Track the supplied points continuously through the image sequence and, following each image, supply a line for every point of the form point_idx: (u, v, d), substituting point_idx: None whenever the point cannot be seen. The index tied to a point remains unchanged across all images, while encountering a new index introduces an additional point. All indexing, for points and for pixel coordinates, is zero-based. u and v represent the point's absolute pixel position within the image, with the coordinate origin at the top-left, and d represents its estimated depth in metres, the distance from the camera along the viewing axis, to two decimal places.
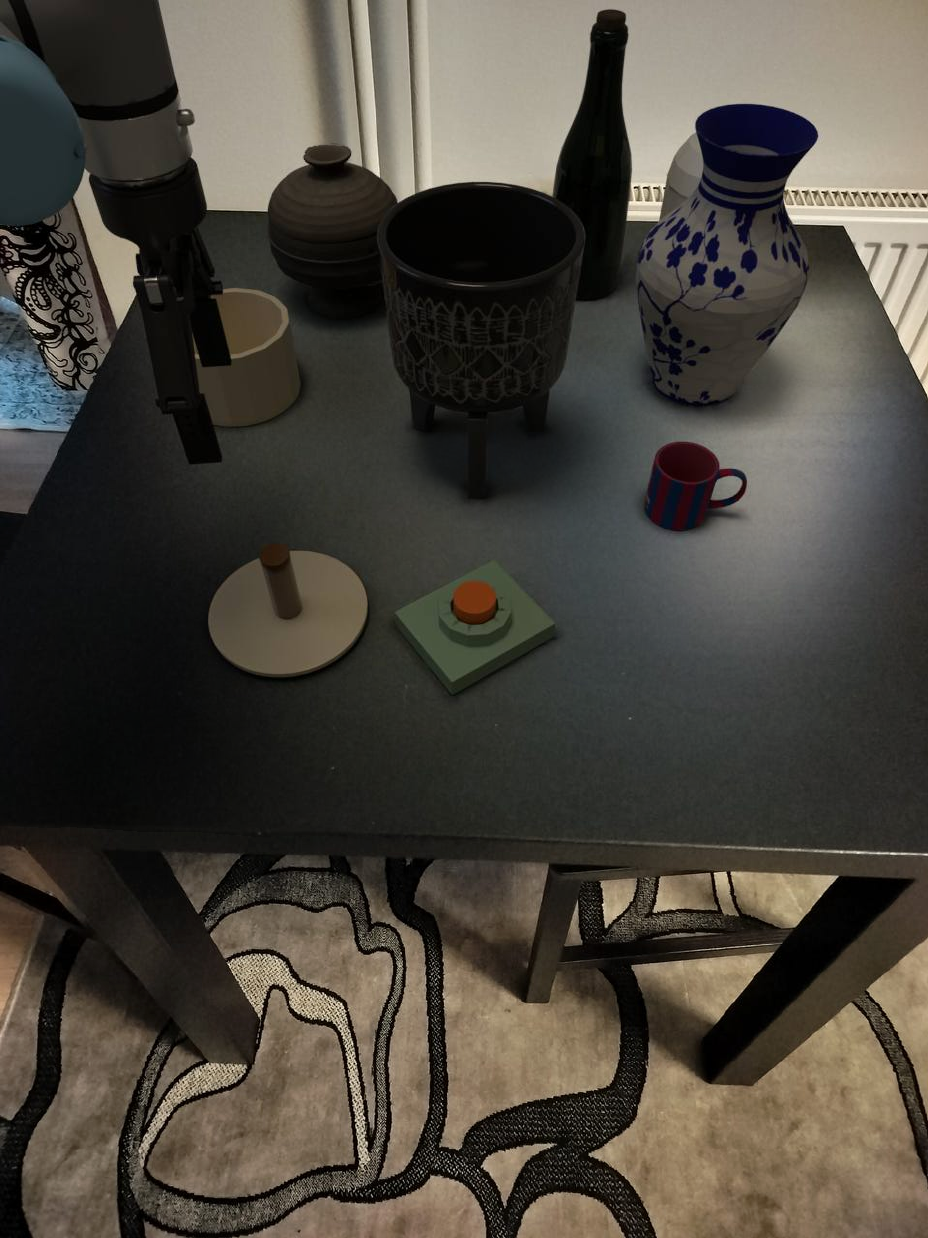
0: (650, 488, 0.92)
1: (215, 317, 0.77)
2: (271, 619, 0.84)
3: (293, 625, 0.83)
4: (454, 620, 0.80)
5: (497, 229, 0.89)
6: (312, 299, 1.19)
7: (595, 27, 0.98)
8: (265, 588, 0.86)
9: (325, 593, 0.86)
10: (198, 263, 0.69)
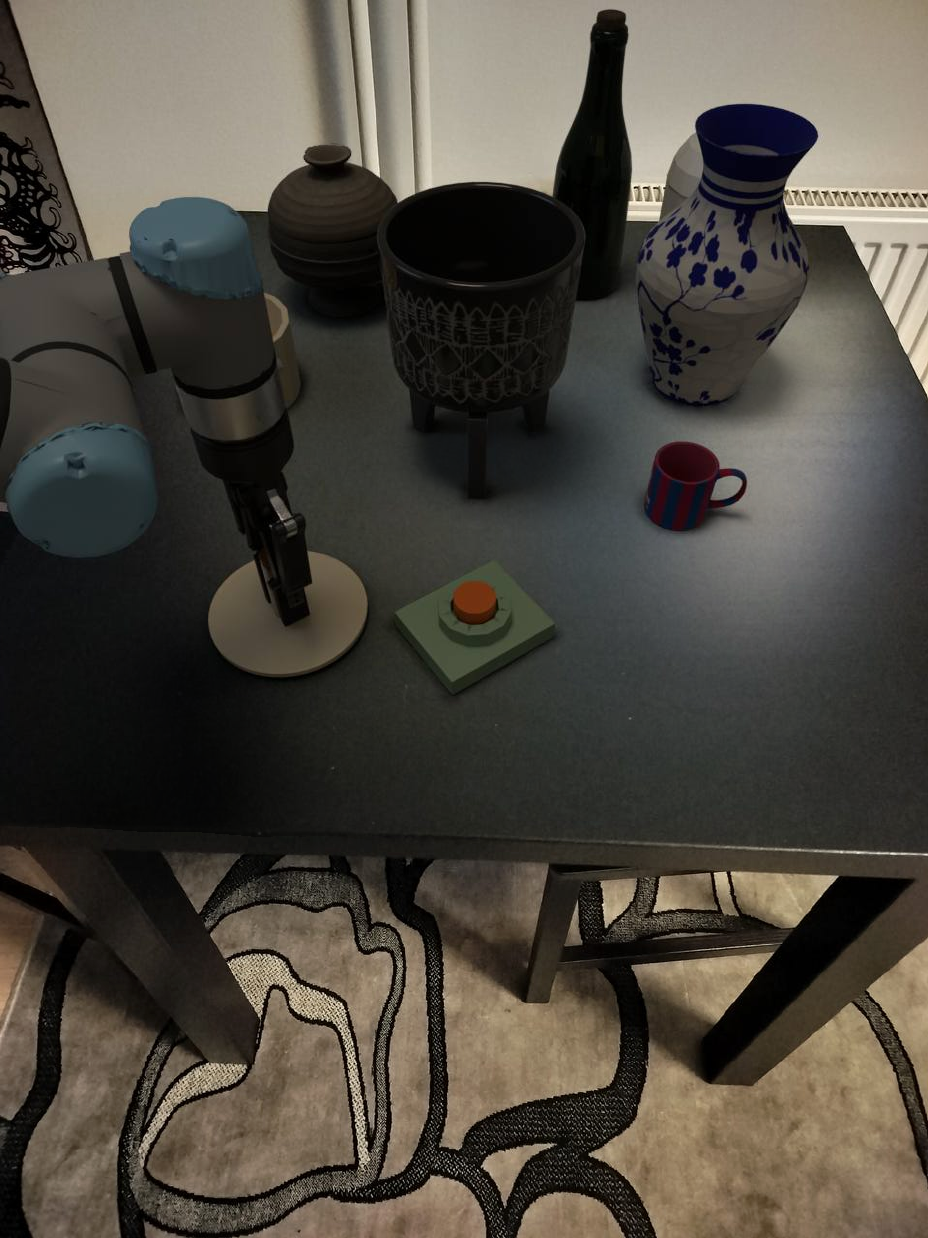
0: (650, 488, 0.92)
1: None
2: (271, 619, 0.84)
3: (293, 625, 0.83)
4: (454, 620, 0.80)
5: (497, 229, 0.89)
6: (312, 299, 1.19)
7: (595, 27, 0.98)
8: None
9: (325, 593, 0.86)
10: None
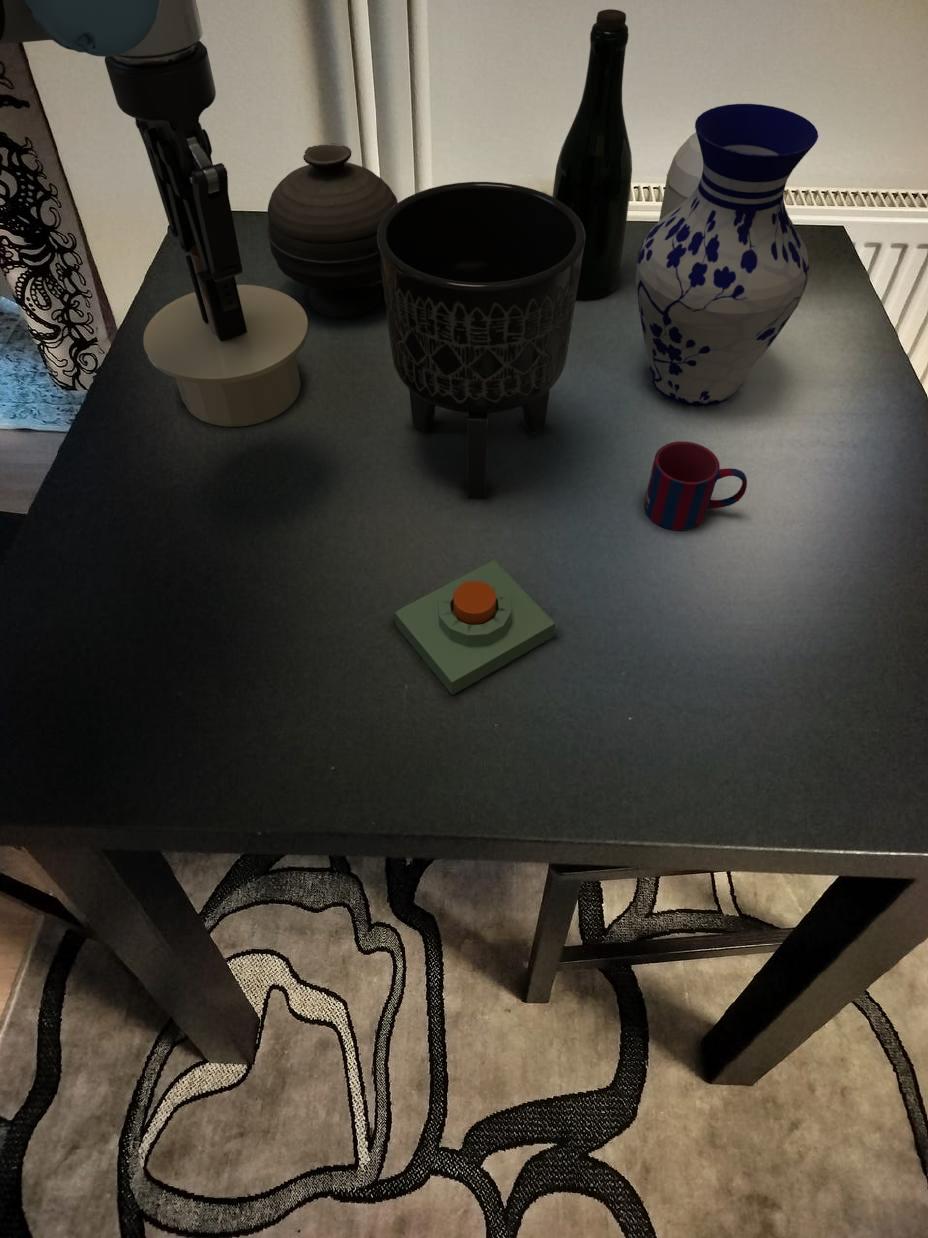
0: (650, 488, 0.92)
1: None
2: (208, 336, 0.81)
3: (230, 341, 0.81)
4: (454, 620, 0.80)
5: (497, 229, 0.89)
6: (312, 299, 1.19)
7: (595, 27, 0.98)
8: None
9: (265, 317, 0.83)
10: None
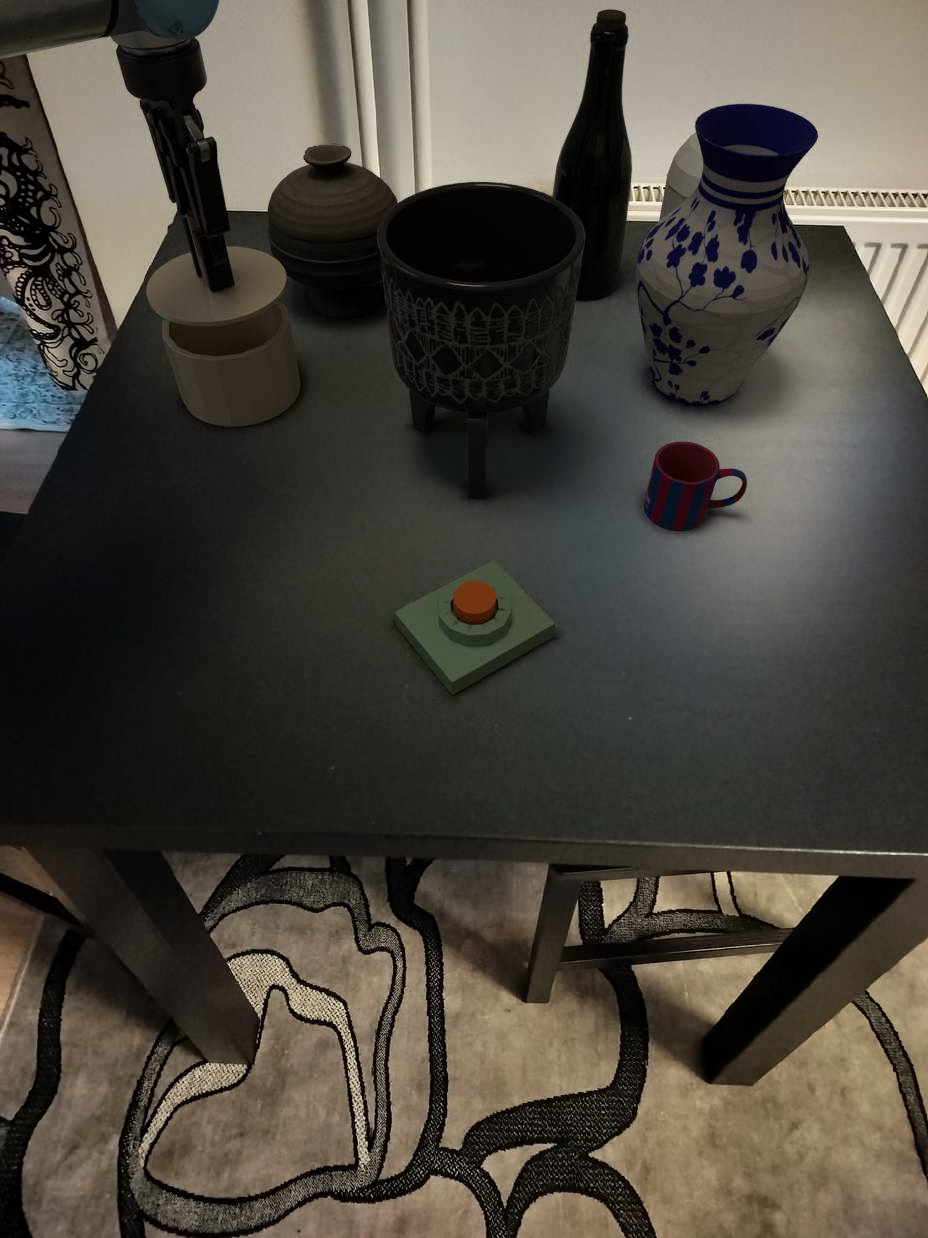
0: (650, 488, 0.92)
1: None
2: (201, 288, 0.96)
3: (220, 292, 0.95)
4: (454, 620, 0.80)
5: (497, 229, 0.89)
6: (312, 299, 1.19)
7: (595, 27, 0.98)
8: None
9: (250, 272, 0.98)
10: None
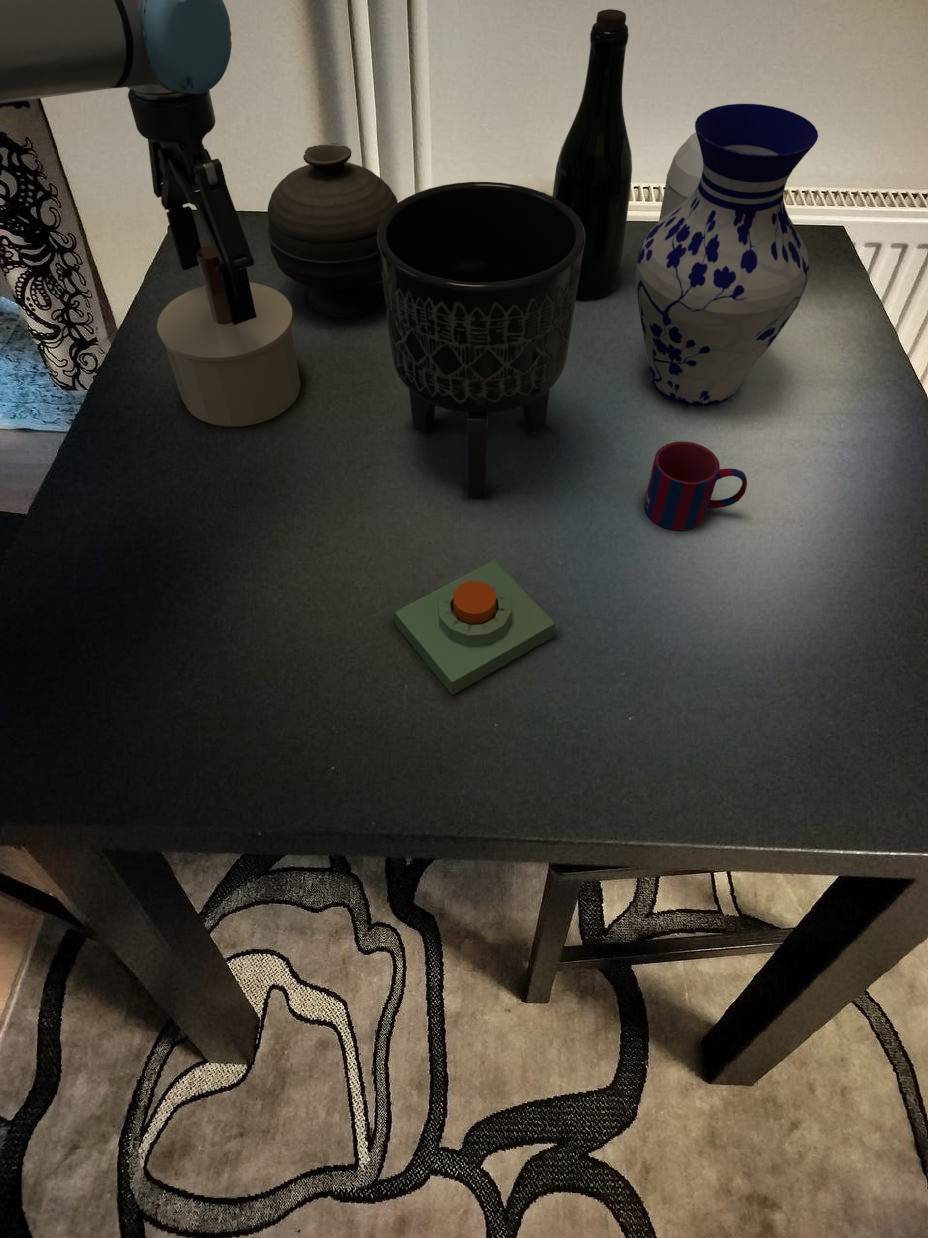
0: (650, 488, 0.92)
1: (192, 221, 0.97)
2: (210, 324, 0.99)
3: (228, 327, 0.99)
4: (454, 620, 0.80)
5: (497, 229, 0.89)
6: (312, 299, 1.19)
7: (595, 27, 0.98)
8: (206, 304, 1.02)
9: (257, 307, 1.01)
10: None
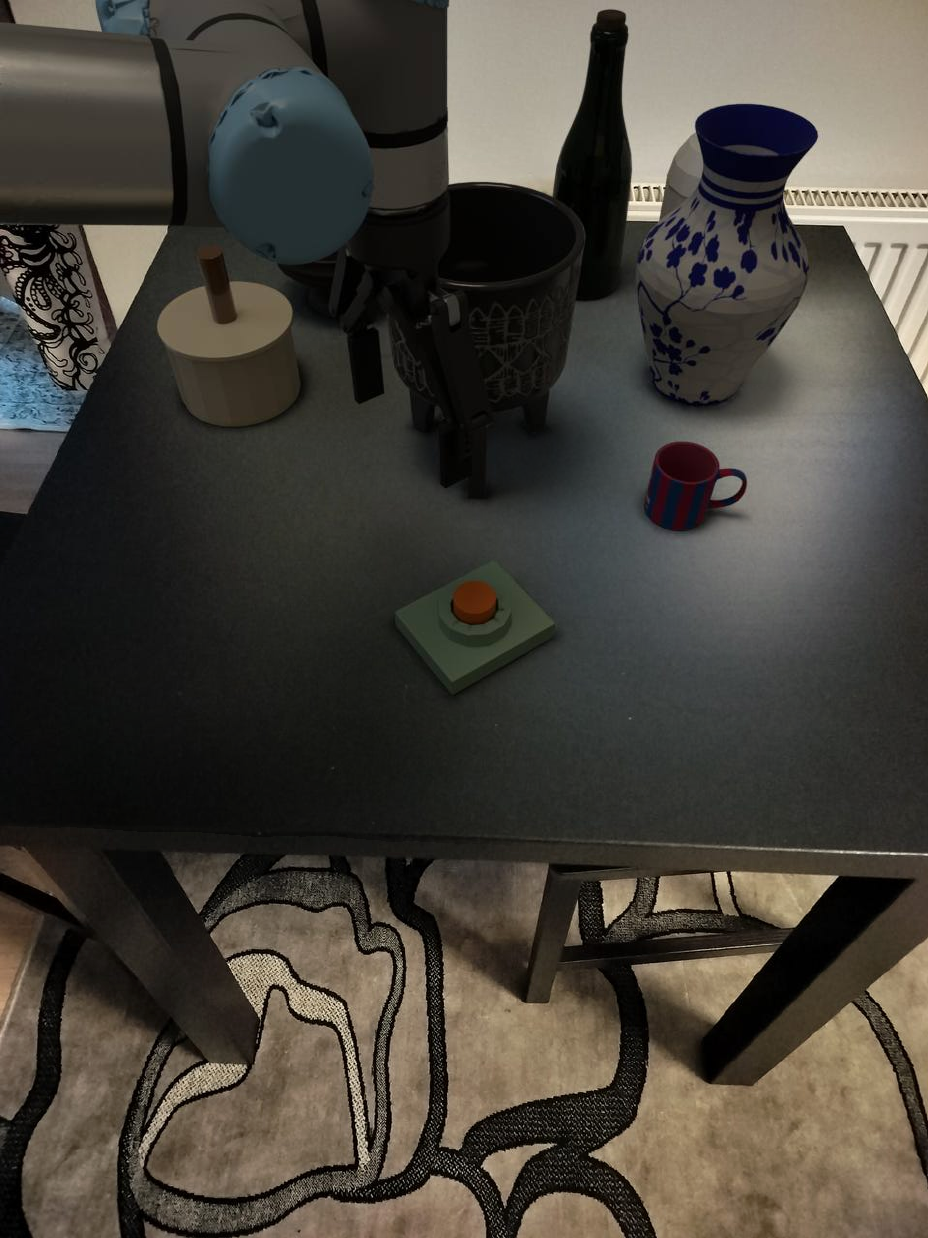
0: (650, 488, 0.92)
1: (376, 346, 0.74)
2: (210, 324, 0.99)
3: (228, 327, 0.99)
4: (454, 620, 0.80)
5: (497, 229, 0.89)
6: (312, 299, 1.19)
7: (595, 27, 0.98)
8: (206, 304, 1.02)
9: (257, 307, 1.01)
10: None
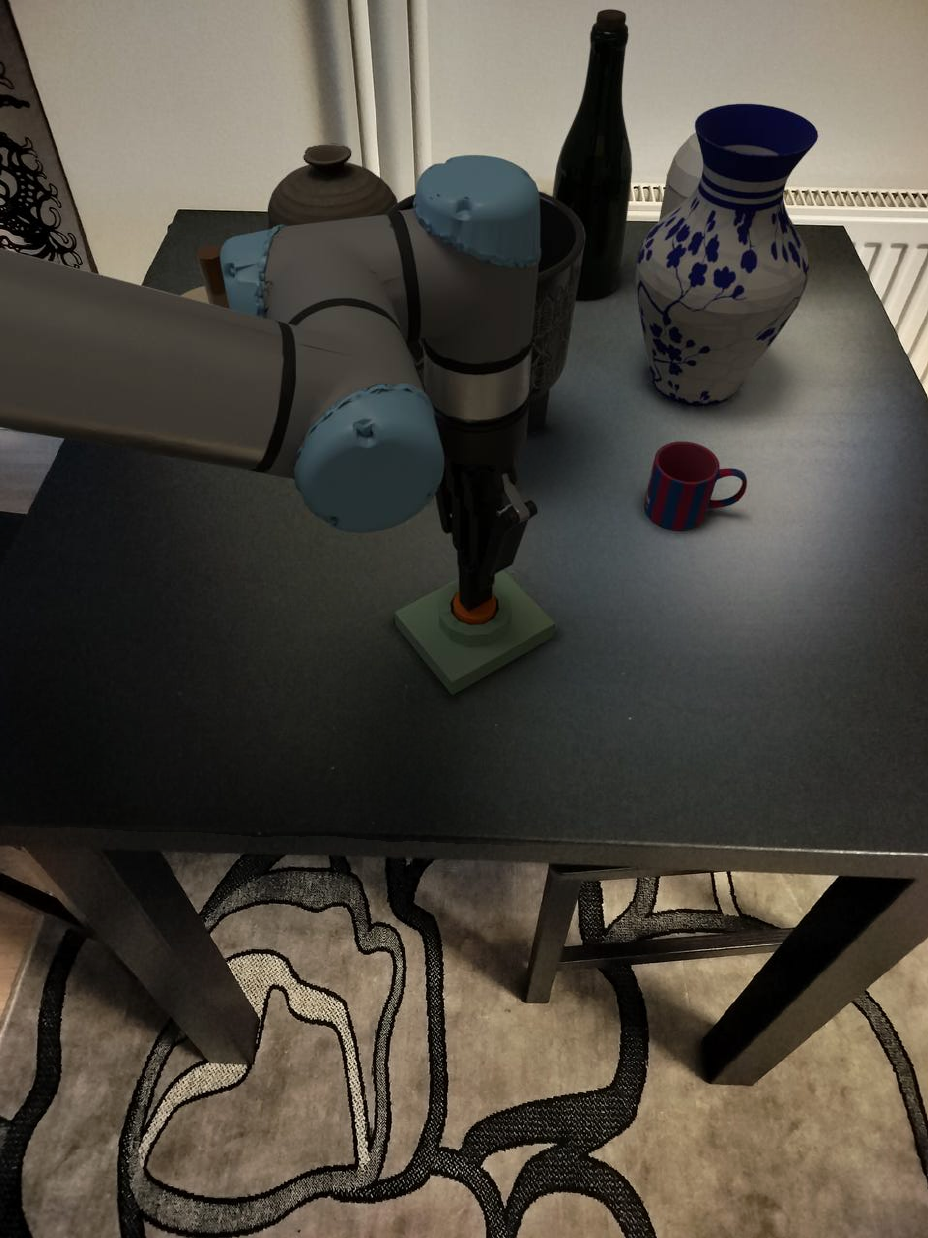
0: (650, 488, 0.92)
1: None
2: None
3: None
4: (454, 620, 0.80)
5: None
6: None
7: (595, 27, 0.98)
8: None
9: None
10: None
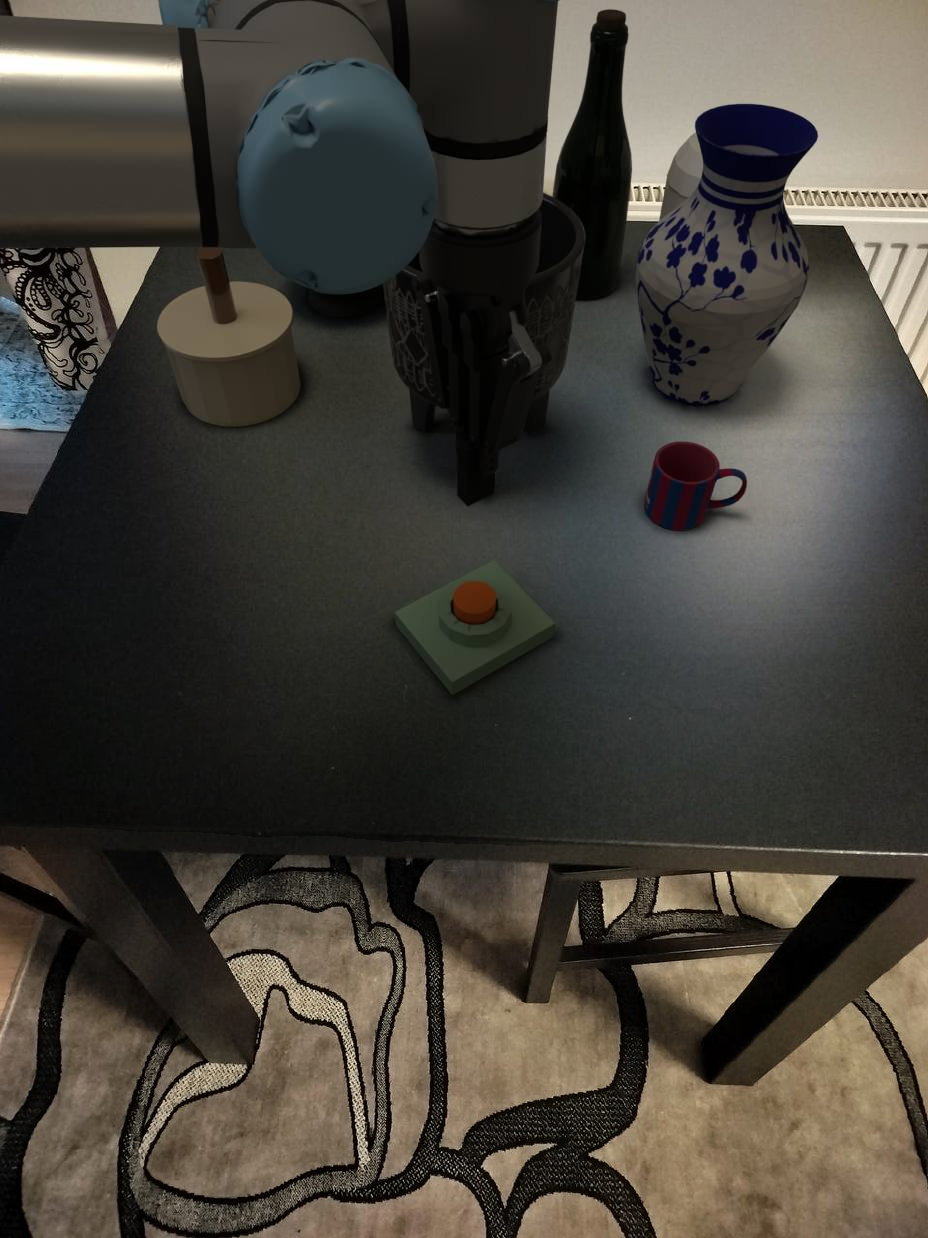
0: (650, 488, 0.92)
1: None
2: (210, 324, 0.99)
3: (228, 327, 0.99)
4: (454, 620, 0.80)
5: None
6: (312, 299, 1.19)
7: (595, 27, 0.98)
8: (206, 304, 1.02)
9: (257, 307, 1.01)
10: None
